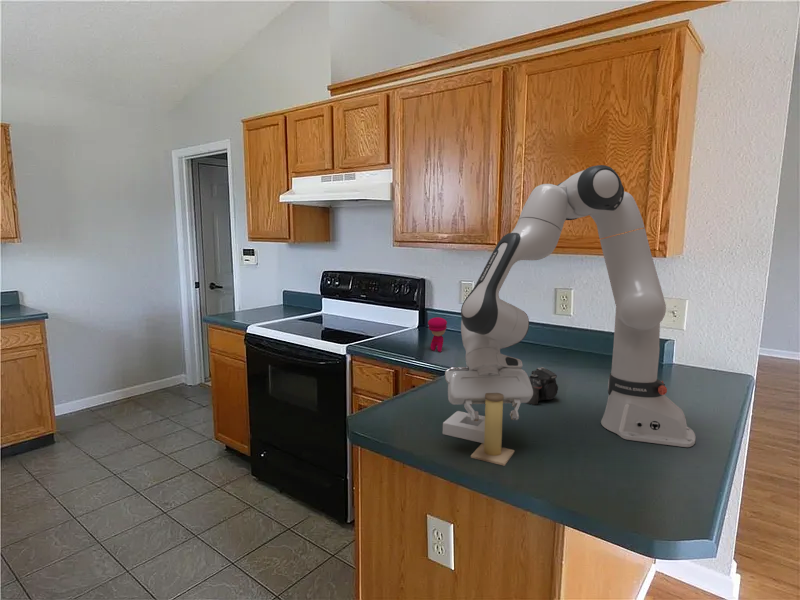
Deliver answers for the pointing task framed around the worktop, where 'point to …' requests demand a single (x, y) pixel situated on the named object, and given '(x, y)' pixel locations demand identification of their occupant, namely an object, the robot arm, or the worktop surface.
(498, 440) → the plug
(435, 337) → the toy
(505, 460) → the mat
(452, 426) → the socket block
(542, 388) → the camera
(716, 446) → the worktop surface
